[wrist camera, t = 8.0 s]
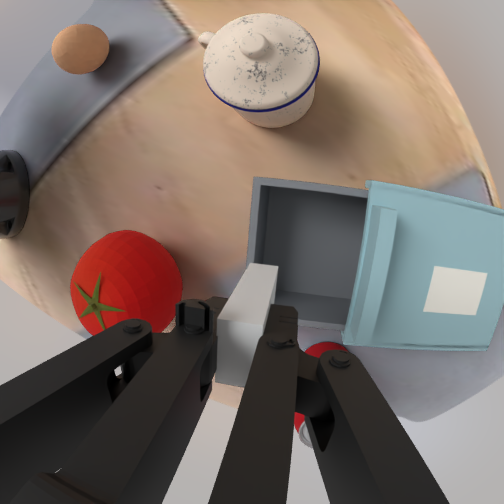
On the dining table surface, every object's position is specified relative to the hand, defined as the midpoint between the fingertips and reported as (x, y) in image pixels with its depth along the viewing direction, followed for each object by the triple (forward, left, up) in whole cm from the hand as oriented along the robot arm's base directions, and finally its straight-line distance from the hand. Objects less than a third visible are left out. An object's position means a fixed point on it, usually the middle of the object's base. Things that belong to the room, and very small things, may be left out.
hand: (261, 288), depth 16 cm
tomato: (-14, -6, -16) cm, 22 cm away
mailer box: (+6, 0, -16) cm, 16 cm away
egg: (-26, +22, -16) cm, 37 cm away
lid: (+15, 0, -10) cm, 18 cm away
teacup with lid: (-4, +16, -16) cm, 23 cm away
